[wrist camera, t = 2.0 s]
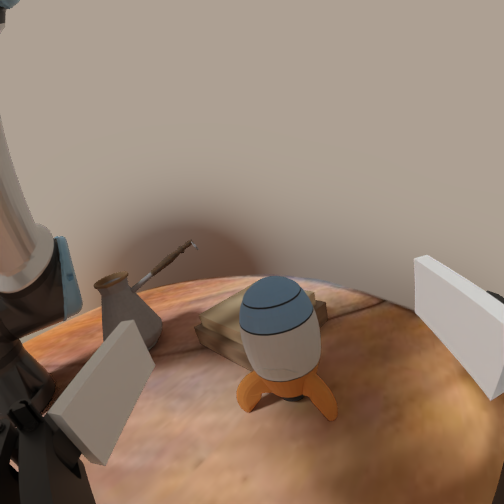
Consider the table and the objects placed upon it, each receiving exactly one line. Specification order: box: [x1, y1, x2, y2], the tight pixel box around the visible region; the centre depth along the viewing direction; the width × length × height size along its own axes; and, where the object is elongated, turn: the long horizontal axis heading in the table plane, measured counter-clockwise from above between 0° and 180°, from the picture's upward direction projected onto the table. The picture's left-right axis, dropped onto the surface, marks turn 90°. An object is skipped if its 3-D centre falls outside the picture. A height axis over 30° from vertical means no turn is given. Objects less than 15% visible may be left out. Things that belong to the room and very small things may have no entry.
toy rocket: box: [237, 276, 338, 421], centre depth 24 cm, size 10×11×15 cm
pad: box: [194, 283, 328, 371], centre depth 41 cm, size 14×14×5 cm
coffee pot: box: [94, 240, 198, 350], centre depth 44 cm, size 21×12×15 cm, turn 104°
